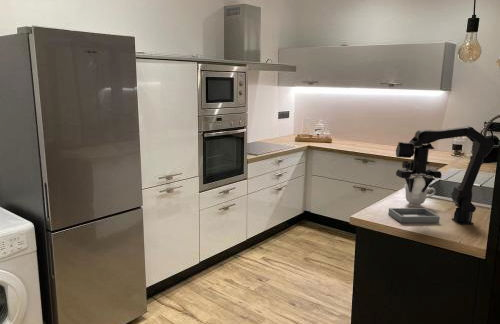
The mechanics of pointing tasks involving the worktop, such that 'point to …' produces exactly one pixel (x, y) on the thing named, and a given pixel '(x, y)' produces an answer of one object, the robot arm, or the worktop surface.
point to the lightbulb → (417, 186)
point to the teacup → (421, 197)
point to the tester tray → (413, 215)
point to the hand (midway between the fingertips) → (416, 192)
